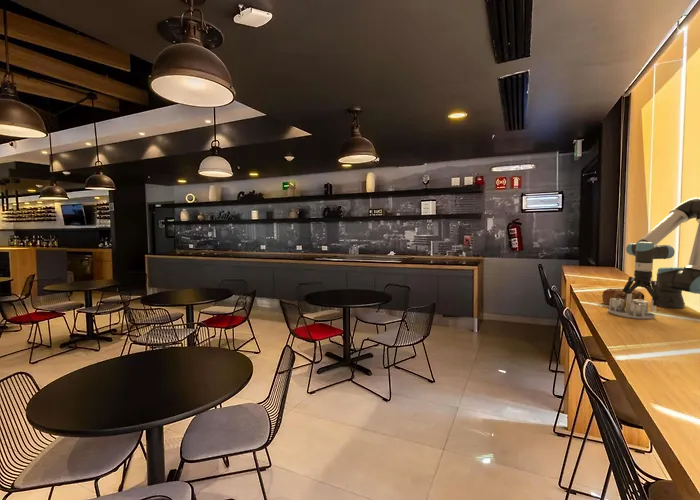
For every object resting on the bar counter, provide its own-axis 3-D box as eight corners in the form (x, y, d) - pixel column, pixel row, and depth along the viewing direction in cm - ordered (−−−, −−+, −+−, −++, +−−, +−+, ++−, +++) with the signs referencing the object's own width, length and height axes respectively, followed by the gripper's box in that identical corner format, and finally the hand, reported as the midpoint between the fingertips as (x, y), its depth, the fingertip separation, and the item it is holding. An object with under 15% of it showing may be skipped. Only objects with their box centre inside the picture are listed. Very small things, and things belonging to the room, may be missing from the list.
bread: (613, 307, 213) (614, 290, 212) (600, 302, 223) (601, 287, 222) (644, 307, 212) (646, 290, 212) (630, 302, 223) (632, 286, 222)
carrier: (628, 308, 209) (629, 295, 208) (664, 318, 189) (665, 303, 188) (599, 310, 205) (600, 297, 204) (633, 320, 185) (634, 305, 184)
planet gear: (638, 309, 202) (639, 299, 201) (650, 312, 195) (651, 301, 195) (628, 310, 201) (629, 299, 200) (640, 313, 194) (641, 302, 193)
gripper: (616, 267, 207) (614, 303, 209) (661, 274, 183) (658, 314, 185) (627, 266, 209) (624, 302, 211) (673, 273, 184) (670, 313, 186)
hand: (640, 308), depth 198 cm, fingers open, 13 cm apart
